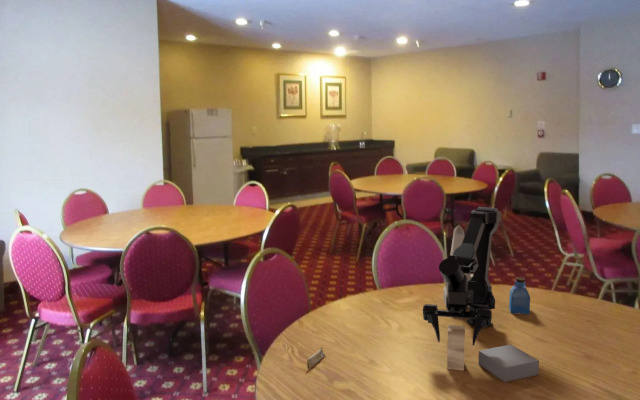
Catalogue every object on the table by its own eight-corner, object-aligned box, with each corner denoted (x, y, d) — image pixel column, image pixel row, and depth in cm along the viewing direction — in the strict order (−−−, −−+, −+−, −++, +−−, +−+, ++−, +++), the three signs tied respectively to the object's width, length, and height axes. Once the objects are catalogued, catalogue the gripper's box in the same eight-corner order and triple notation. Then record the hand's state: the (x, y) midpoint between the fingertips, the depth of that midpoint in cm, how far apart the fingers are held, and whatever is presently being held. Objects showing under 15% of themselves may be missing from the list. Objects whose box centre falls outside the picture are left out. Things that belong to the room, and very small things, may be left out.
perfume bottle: (527, 308, 189) (528, 276, 187) (529, 314, 183) (530, 281, 181) (509, 307, 191) (510, 275, 189) (510, 313, 185) (512, 280, 183)
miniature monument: (441, 297, 202) (443, 221, 197) (469, 298, 200) (471, 221, 196) (444, 307, 192) (445, 227, 187) (473, 308, 190) (475, 227, 186)
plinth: (510, 357, 150) (511, 344, 150) (538, 374, 140) (539, 360, 140) (478, 364, 147) (478, 350, 146) (504, 382, 136) (505, 367, 136)
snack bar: (309, 370, 145) (309, 360, 145) (304, 369, 146) (304, 359, 146) (325, 356, 154) (325, 347, 153) (321, 355, 154) (321, 346, 154)
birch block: (447, 361, 149) (448, 324, 147) (464, 363, 147) (464, 326, 146) (447, 368, 144) (447, 330, 143) (464, 370, 143) (464, 332, 142)
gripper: (423, 277, 149) (420, 328, 140) (492, 281, 144) (493, 334, 135) (425, 294, 158) (422, 344, 149) (490, 299, 153) (490, 350, 144)
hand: (455, 343), depth 144 cm, fingers open, 9 cm apart
